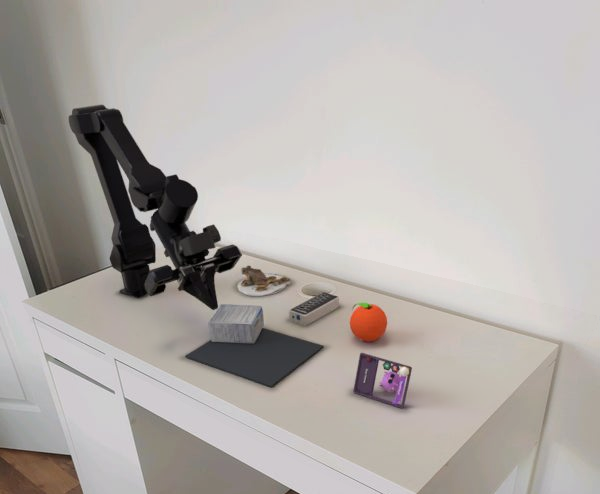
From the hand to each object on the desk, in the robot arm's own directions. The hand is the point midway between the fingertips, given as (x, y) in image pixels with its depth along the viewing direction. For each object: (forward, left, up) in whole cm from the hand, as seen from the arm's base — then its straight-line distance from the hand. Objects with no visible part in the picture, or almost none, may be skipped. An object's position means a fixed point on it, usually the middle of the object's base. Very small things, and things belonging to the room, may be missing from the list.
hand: (215, 308), depth 114 cm
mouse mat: (+8, 0, -7) cm, 11 cm away
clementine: (+23, +15, -7) cm, 29 cm away
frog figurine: (-10, +25, -7) cm, 28 cm away
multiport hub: (+9, +19, -7) cm, 22 cm away
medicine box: (-3, +2, -4) cm, 6 cm away
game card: (+35, 0, -7) cm, 36 cm away
